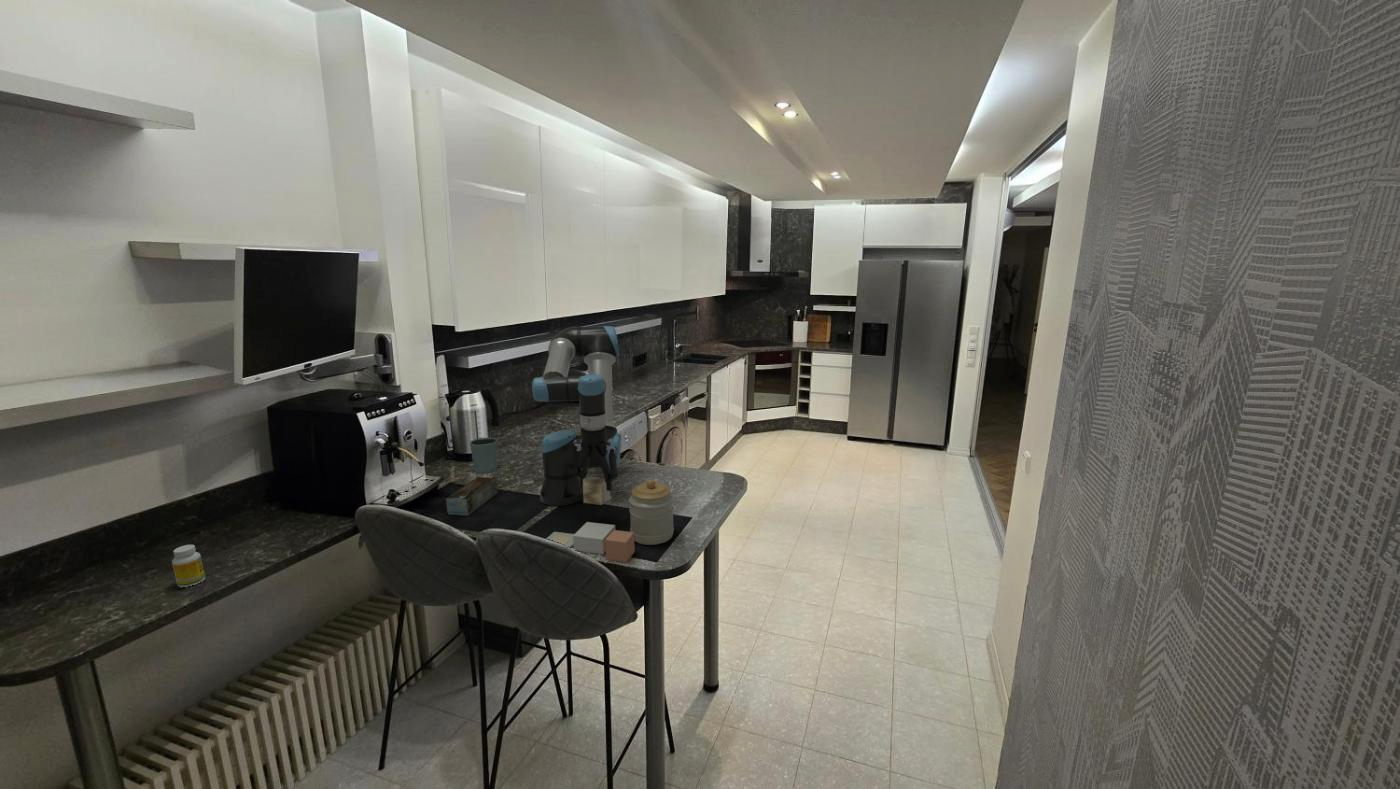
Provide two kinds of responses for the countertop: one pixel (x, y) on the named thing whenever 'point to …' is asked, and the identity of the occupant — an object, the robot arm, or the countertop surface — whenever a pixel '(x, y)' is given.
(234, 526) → the countertop surface
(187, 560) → the supplement bottle
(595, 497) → the maple block
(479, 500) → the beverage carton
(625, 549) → the terracotta block
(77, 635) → the countertop surface
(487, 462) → the teal cup
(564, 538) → the card
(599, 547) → the grey base block
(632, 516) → the jar
